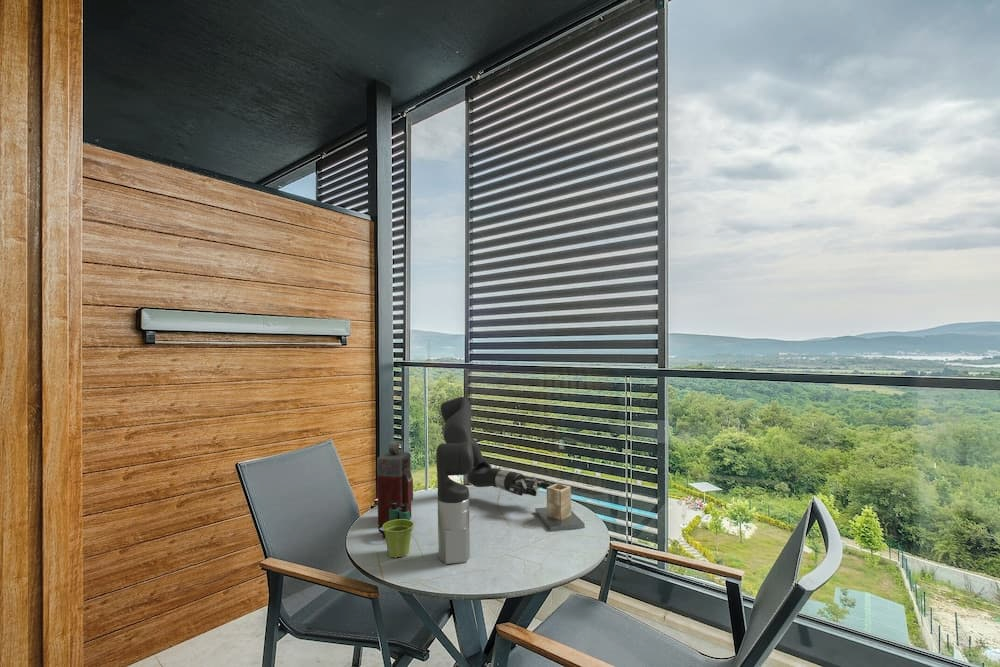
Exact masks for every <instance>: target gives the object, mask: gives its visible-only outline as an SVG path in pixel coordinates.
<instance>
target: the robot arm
mask: <svg viewBox="0 0 1000 667" xmlns="http://www.w3.org/2000/svg"><path fill="white" fill-rule="evenodd" d="M472 412H473V411H472V406H471V403H470V401H469V399H468V398H466V397H465V396H459V397H455V398H452V399H450V400H446V401H444V402H442V403H441V405H440V413H441V416H442V419H443V422H444V423H445V424H444V429H443V439H444V441H445V443H439V444H438V446H437V447H436V452H435V460H436V463H435V464H436V465H435V466H436V475H437V476H436V477H437V533H438V534H437V536H438V537H437V538H438V539H437V542H438V543H437V544H438V546H437V547H438V550H437V552H438V560H439V561H441V562H443V563H444V564H445V565H450V564H460V563H467V562H468V560H469V559H470V556H471V547H470V546H471V543H470V542H471V541H470V540H471V539H470V538H471V536H470V530H471V529H470V492H469V491H470V490H469V488H468V486H466V485H465V484H463V483H459V482H456V481H454V480H452V479H451V478H450V477H449V476H465V475H467V477H466V478H467V481H468V482H469V483H470V484H471V485H472V486H474V487H478V488H486V487H487V488H488V487H494V488H497V489H499V490H501V491H505V492H508V493H511V494H514V495H517V496H523V495H525V496H527V495H529V496H532V497H536V496H537V490H538V489H542V490H546V491H547V487H549V486H552V483H548V482H546V479H544V478H539V477H534V476H533V477H531V479H530V478H526V477H525V476H524V474H523V473H520V472H516V471H511V470H507V469H506V470H505V469H501V468H496V467H492V465H491V464H490V463H489V462H488V461H487V459H486V458H485V456H483V454H482V451H481V449H480V447H479V446H480V445H479V444H478V442H477V441H476V439H475V438H474V437H472V424H471V423H472V422H471V421H472V415H473V413H472Z"/></svg>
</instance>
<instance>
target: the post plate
mask: <svg viewBox="0 0 1000 667" xmlns="http://www.w3.org/2000/svg"><path fill="white" fill-rule="evenodd" d="M534 510H535V514H536V515H537V517H538V516H539V518H538V519H539V520H541V522H542V523H543V524H544V525H545V527H546V528H547V530H549V532H556V531H557V532H558V531H568V530H569V531H570V530H577V529H585V527H586V526H585V522H584V521H582V520H581V518H580V517H579V516H578V515H577V514H576V513H574V511H573V510H571V516H569V517H567V518H565V519H563V520H559V519H555V518H552V517H548V516H547V506H546V507H537V508H534Z"/></svg>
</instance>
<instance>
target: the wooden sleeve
mask: <svg viewBox="0 0 1000 667" xmlns="http://www.w3.org/2000/svg"><path fill="white" fill-rule="evenodd" d="M546 507H547V516H548V517H552V518H555V519H559V520H563V519H565V518H567V517H569V516H571V511H572V487H571V486H569V485H565V484H561V483H554V484H551V486H549V487H547V490H546Z"/></svg>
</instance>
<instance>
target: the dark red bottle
mask: <svg viewBox="0 0 1000 667" xmlns="http://www.w3.org/2000/svg"><path fill="white" fill-rule="evenodd" d="M388 444H389V445H388V451H387V452H385V453H383V454H382V455H380V456H378V457H377V459H376V471H377V472H376V473H377V474H376V475H377V476H376V478H377V479H376V480H377V481H376V482H377V525H378V526H379V525H381V524H383V523H385V522H386V520H389V509H390V508H392V506H391V502H392V501H396V502H397V507H399V508H401V505H403V504H407V510H409V513H410V519H411V518H412V502H413V501H414V478H413V476H412V471H411V470H412V469H411V468H412V467H411V466H412V465H411V452H408V451H407V452H405V451H403V452H402V451H399V450H400V444H399V441H394V440H392V441H390V442H389V443H388ZM387 522H388V521H387Z"/></svg>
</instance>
